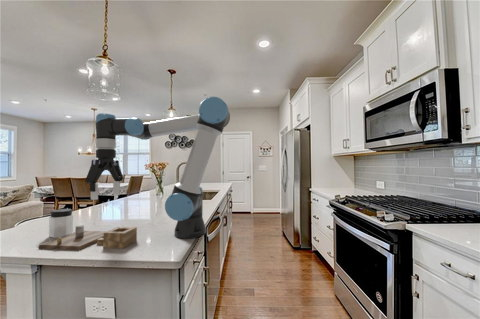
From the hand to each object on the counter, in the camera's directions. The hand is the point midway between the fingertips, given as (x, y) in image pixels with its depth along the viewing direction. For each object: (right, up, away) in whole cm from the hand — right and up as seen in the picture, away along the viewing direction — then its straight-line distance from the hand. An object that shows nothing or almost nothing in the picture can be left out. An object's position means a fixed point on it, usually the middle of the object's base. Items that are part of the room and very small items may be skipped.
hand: (106, 197), depth 98 cm
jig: (-13, -20, +1) cm, 24 cm away
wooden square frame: (+5, -19, -3) cm, 20 cm away
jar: (-28, -20, +10) cm, 36 cm away
